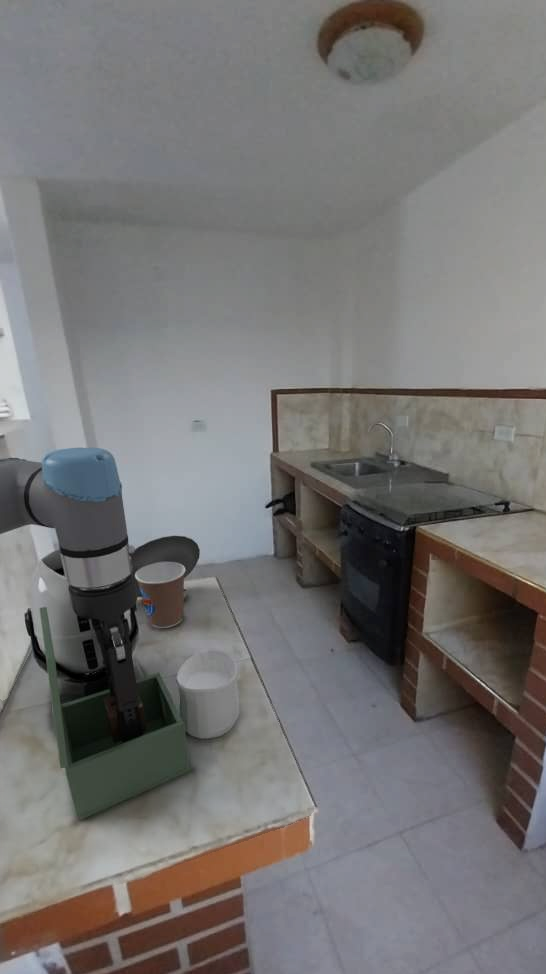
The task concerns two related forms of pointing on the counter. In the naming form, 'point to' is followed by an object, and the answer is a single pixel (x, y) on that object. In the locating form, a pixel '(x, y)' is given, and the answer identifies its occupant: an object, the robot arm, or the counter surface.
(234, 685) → the cup
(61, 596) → the kettle
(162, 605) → the coffee cup
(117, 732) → the block
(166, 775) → the chest
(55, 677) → the lid
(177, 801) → the counter surface
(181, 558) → the plate
